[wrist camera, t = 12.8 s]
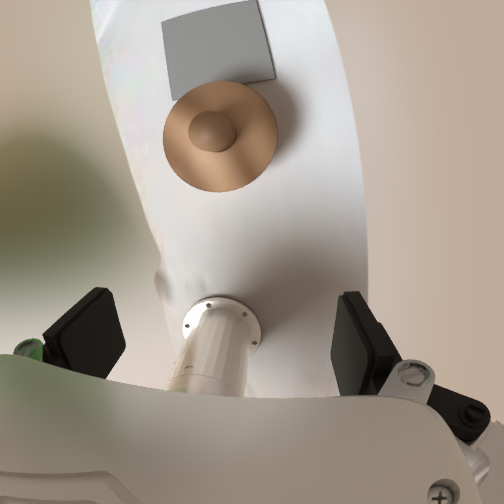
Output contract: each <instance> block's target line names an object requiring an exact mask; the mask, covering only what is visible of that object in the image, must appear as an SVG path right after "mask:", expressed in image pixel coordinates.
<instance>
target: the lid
mask: <svg viewBox="0 0 504 504" xmlns="http://www.w3.org/2000/svg"><path fill="white" fill-rule="evenodd" d="M277 136H278V132H277V124H276V120H275V117H274V114H273V112H272V110H271V108H270V106H269V105H268V103H267V102H266V101H265V100H264V99H263V98H262V97H261V96H260V95H259V94H258V93H257V92H255V91H254V90H253V89H251V88H249V87H247V86H245V85H242V84H240V83H236V82H230V81H215V82H209V83H205V84H202V85H200V86H197V87H195V88H193V89H192V90H190V91H188V92H187V93H186V94H184V95H183V96H182V97H181V98H180V99H179V100H178V101H177V102H176V104H175V105H174V106H173V108H172V109H171V111H170V113H169V115H168V117H167V119H166V122H165V126H164V131H163V146H164V151H165V155H166V158H167V160H168V162H169V164H170V166H171V168H172V169H173V170H174V172H175V173H176V174H177V175H178V176H179V177H180V178H181V179H182V180H183V181H185V182H186V183H188V184H189V185H191V186H193V187H195V188H197V189H200V190H204V191H209V192H228V191H232V190H236V189H239V188H241V187H244V186H246V185H247V184H249V183H251V182H252V181H254V180H255V179H256V178H257V177H258V176H260V175H261V174H262V173H263V171H264V170H265V169H266V168H267V166H268V165H269V163H270V162H271V159H272V157H273V155H274V152H275V149H276V145H277Z"/></svg>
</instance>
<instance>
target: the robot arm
mask: <svg viewBox="0 0 504 504" xmlns="http://www.w3.org/2000/svg"><path fill="white" fill-rule="evenodd" d="M209 303H210V304H209ZM244 312H246V313H244ZM182 329H183V335H184V338H185V343H184V345H183V347H182V350H181V352H180V354H179V357H178V358H177V359H176V360H175V362H174V364H175V366H174V368H173V371H172V373H171V376H170V378H169V380H168V383H167V385H166V387H165V390H160V389H153V388H147V387H141V386H136V385H130V384H125V383H120V382H115V381H111V380H106V378H107V376H108V374H109V373H110V371H111V370H112V368H113V367H114V365H115V364H116V362H117V361H118V359H119V358H120V356H121V355H122V353H123V352H124V350H125V347H126V343H125V339H124V336H123V333H122V329H121V325H120V322H119V318H118V314H117V310H116V306H115V302H114V298H113V294H112V293H111V292H110V291H109V290H108V289H107V288H101V287H95V288H94V289H92V290H91V291H90V292H89V293H88V294H87V295H85V296H84V297H83V298H82V299H81V300H80V301H79V302H78V303H76V304H75V305H74V306H73V307H72V308H71V309H69V310H68V311H67V312H66V313H65V314H64V315H63V316H62V317H61V318H60V319H58V320H57V321H56V322H55V323H54V324H53V325H52V326H51V327H50V328H49V329H48V330H46V331H45V332H44V333H43V337H44V340H45V342H46V343H45V344H44V345H43V343H42V342H41V341H40V340H39V339H35V338H32V339H27V340H25V341H23V342H21V343H20V344H18V345H17V346H16V348H15V349H14V352H13V355H10V354H9V355H8V354H2V355H0V504H504V425H503V424H501V423H500V422H498V421H496V422H495V423H493V422H491V421H490V418H491V416H490V412H489V410H488V408H487V407H486V406H485V405H484V404H483V403H481V402H480V401H478V400H475V399H472V398H469V397H467V396H464V395H461V394H458V393H456V392H454V391H451V390H448V389H446V388H443V387H440V386H438V385H435V384H434V381H435V374H434V371H433V370H432V368H431V367H430V366H428V365H427V364H426V363H423V362H421V361H418V360H404V361H403V360H402V358H401V356H400V355H399V353H398V351H397V349H396V347H395V346H394V344H393V342H392V341H391V339H390V337H389V336H388V334H387V332H386V330H385V329H384V327H383V325H382V324H381V323H379V322H377V320H376V319H375V317H374V315H373V314H372V312H371V310H370V309H369V307H368V305H367V304H366V302H365V300H364V299H363V297H362V296H361V294H360V292H359V291H352V292H344V294H343V295H341V296H339V298H338V306H337V313H336V320H335V327H334V334H333V341H332V347H331V361H332V365H333V369H334V372H335V376H336V380H337V384H338V388H339V392H340V396H332V397H305V398H246V397H245V388H246V378H247V369H248V360H249V357H250V356H251V355H252V354H253V353H254V352H255V351H256V349H257V348H258V346H259V343H260V339H261V328H260V324H259V322H258V320H257V318H256V316H255V315H254V314H253V312H252V311H251V310H250V309H249V308H247V307H246V306H244V305H243V304H241V303H239V302H237V301H235V300H232V299H228V298H221V297H214V298H208V299H204V300H201V301H199V302H197V303H196V304H194V305H193V306H192V307H191V308H190V309H189V311H188V312H187V314H186V316H185V318H184V321H183V327H182Z"/></svg>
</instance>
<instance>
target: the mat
mask: <svg viewBox="0 0 504 504" xmlns="http://www.w3.org/2000/svg"><path fill="white" fill-rule="evenodd" d="M161 24H162V32H163V40H164V48H165V55H166V62H167V69H168V76H169V83H170V89H171V95H172V100H173V101H175V100H178V99H180V98H181V97H182V96H183V95H184V94H186V93H187V92H188V91H190V90H192V89H193V88H195V87H197V86H200V85H202V84H205V83H209V82H215V81H230V82H236V83H240V84H246V83H251V82H257V81H263V80H270V79H275V75H274V71H273V66H272V62H271V58H270V53H269V49H268V45H267V41H266V37H265V33H264V29H263V25H262V21H261V18H260V14H259V10H258V6H257V3H256V0H248V1H242V2H236V3H231V4H226V5H221V6H216V7H212V8H208V9H204V10H200V11H196V12H192V13H189V14H185V15H182V16H179V17H175V18H172V19H169V20H166V21H163V22H161Z"/></svg>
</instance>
